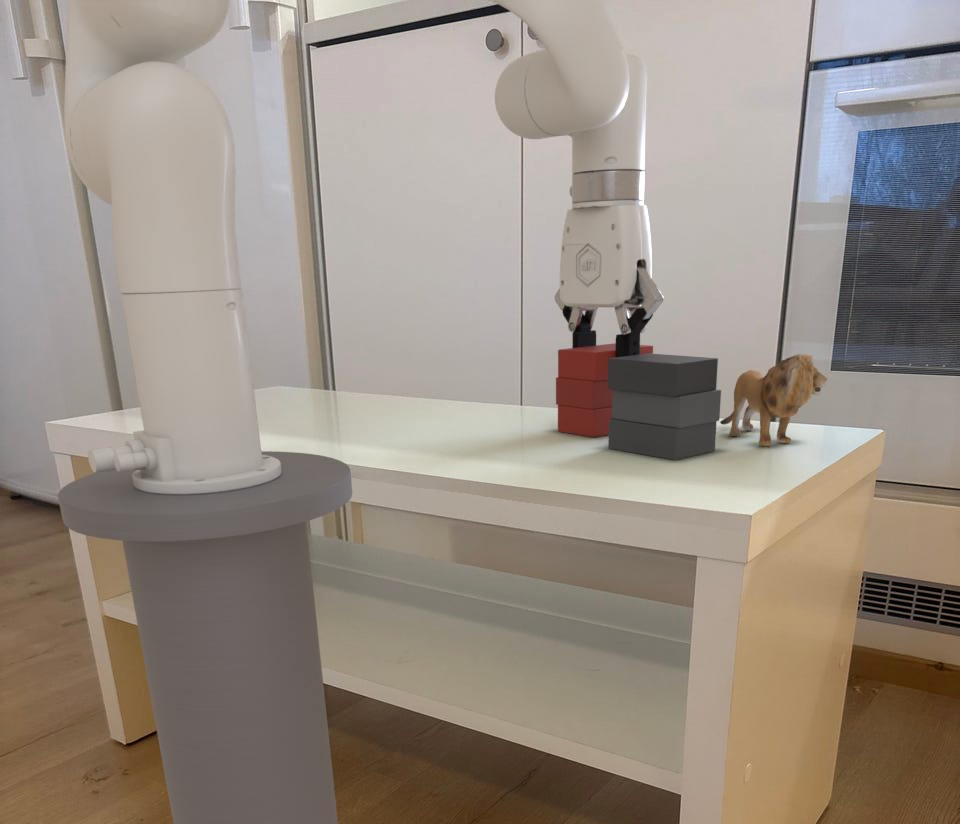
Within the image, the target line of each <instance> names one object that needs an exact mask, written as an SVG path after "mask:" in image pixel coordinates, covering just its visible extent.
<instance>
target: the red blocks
mask: <svg viewBox="0 0 960 824" xmlns="http://www.w3.org/2000/svg"><path fill="white" fill-rule="evenodd" d="M555 405H557V432H560V433H567V434H571V435H572V434H573V435H578V436H584V437H591V438H599V437H605V436H609V419H612V390H611V389H608V380H601V381H588V380H579V379H569V378H560V377H558V376H557V377H555Z"/></svg>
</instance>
